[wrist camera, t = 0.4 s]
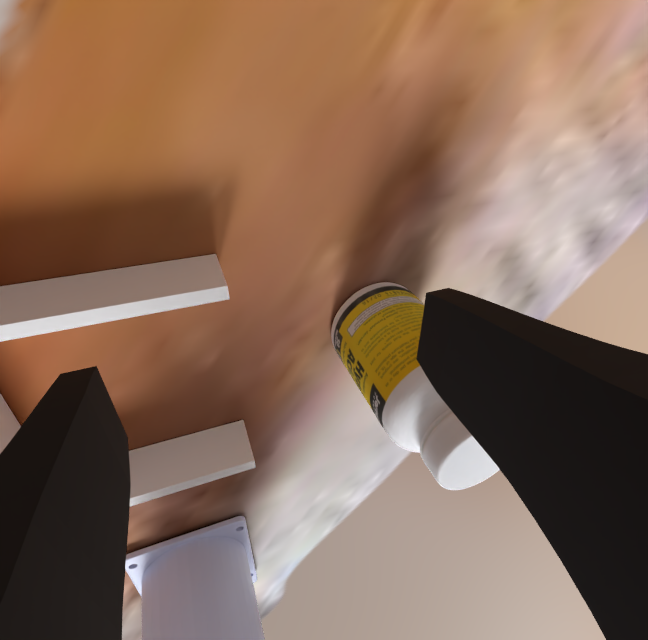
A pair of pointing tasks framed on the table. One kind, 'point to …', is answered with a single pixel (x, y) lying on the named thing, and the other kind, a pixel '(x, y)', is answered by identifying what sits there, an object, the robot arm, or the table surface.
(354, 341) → the supplement bottle
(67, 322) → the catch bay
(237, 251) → the table surface
